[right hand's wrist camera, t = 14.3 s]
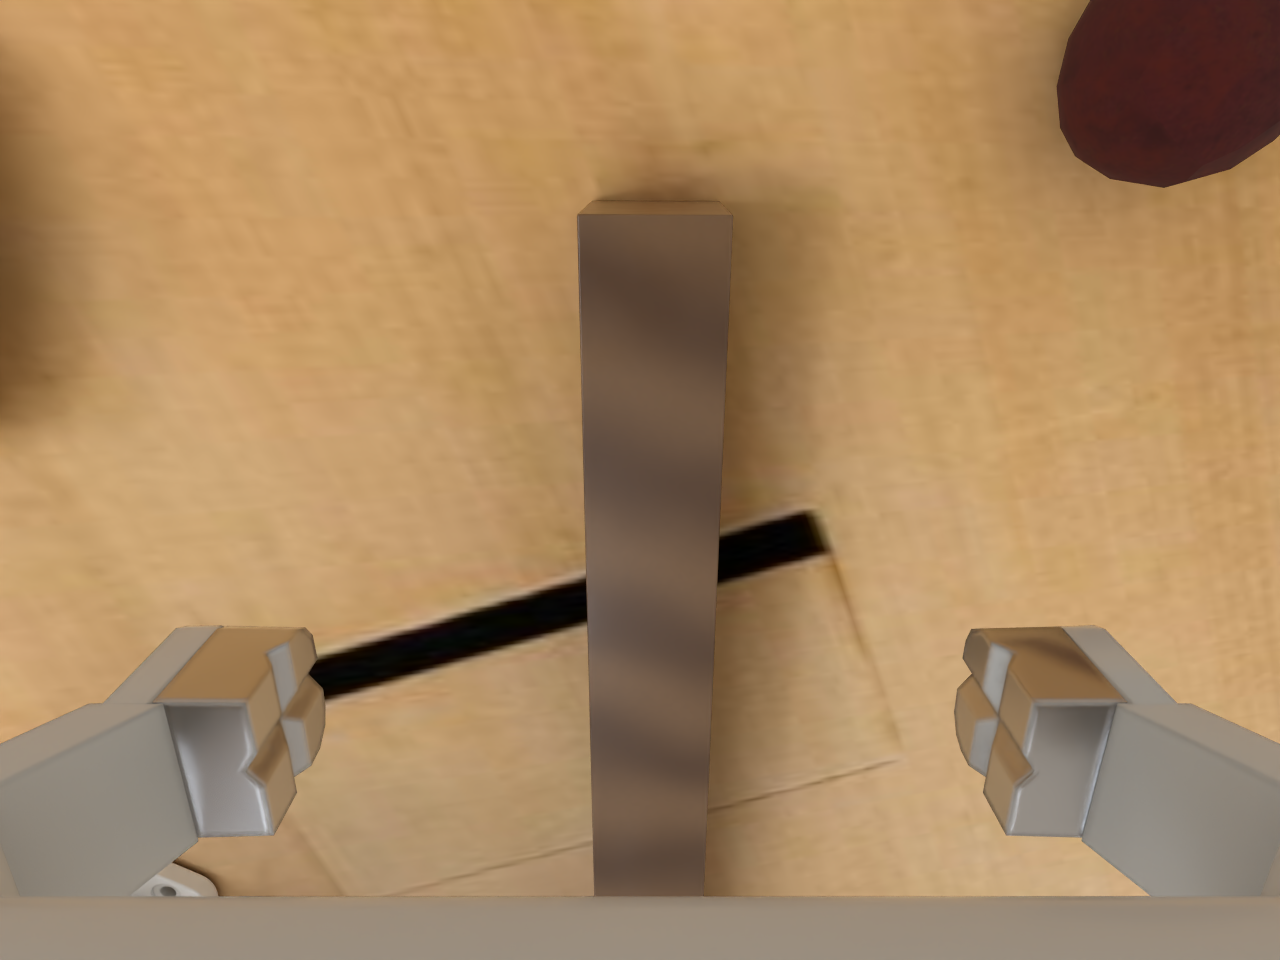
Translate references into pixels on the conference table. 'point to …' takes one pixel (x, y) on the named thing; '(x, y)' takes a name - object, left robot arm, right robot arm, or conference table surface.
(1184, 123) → the potato
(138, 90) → the conference table surface
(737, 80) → the conference table surface
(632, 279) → the post
